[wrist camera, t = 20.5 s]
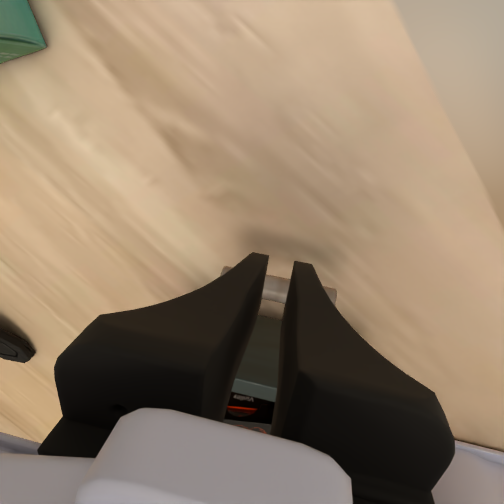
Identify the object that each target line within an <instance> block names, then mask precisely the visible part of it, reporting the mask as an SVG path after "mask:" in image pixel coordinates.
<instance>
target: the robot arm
mask: <svg viewBox="0 0 504 504" xmlns="http://www.w3.org/2000/svg"><path fill="white" fill-rule="evenodd" d="M268 259H269V255H264V254H259V253H254V252H252V253H251V254H249V255H248V256H247V257H246V258H245V259H243V260H242V261H241V262H240V263H238V264H237V265H236V266H235V267H233V268H232V269H230V270H229V271H228V272H226V273H225V274H224V275H222V276H220V277H219V278H217V279H216V280H214V281H212V282H211V283H209V284H207V285H206V286H204V287H202V288H200V289H197V290H195V291H193V292H191V293H188V294H186V295H183V296H180V297H178V298H175V299H172V300H169V301H166V302H163V303H159V304H156V305H152V306H148V307H144V308H139V309H134V310H129V311H122V312H116V313H110V314H102V315H99V316H98V317H97V318H96V319H95V320H94V321H93V322H92V323H91V324H89V325H88V326H87V327H86V328H85V329H84V330H83V332H82V333H81V334H80V335H79V336H78V337H77V338H76V339H75V340H74V341H73V342H72V343H71V344H70V345H69V346H68V347H67V348H66V349H65V350H64V351H63V353H62V354H61V355H60V356H59V357H58V358H57V361H56V364H55V366H54V375H55V382H56V387H57V391H58V396H59V401H60V405H61V410H62V414H63V417H62V418H61V420H60V421H59V422H58V423H57V425H56V426H55V427H54V428H53V430H52V431H51V432H50V434H49V435H48V436H47V437H46V439H45V440H44V441H43V443H42V444H41V443H38V442H34V441H30V440H27V439H23V438H20V437H16V436H13V435H9V434H6V433H2V432H0V504H504V452H501V451H497V450H493V449H489V448H485V447H481V446H477V445H473V444H468V443H464V442H460V441H456V440H454V438H453V435H452V432H451V430H450V427H449V424H448V421H447V419H446V416H445V414H444V411H443V409H442V407H441V405H440V403H439V401H438V399H437V397H436V395H435V393H434V392H433V391H431V390H430V389H428V388H427V387H425V386H424V385H422V384H421V383H419V382H418V381H416V380H415V379H413V378H412V377H410V376H409V375H407V374H406V373H404V372H403V371H401V370H400V369H399V368H397V367H396V366H395V365H393V364H392V363H391V362H389V361H388V360H387V359H386V358H384V357H383V356H382V355H381V354H379V353H378V352H377V351H376V350H375V349H374V348H372V347H371V346H370V345H369V344H368V343H367V342H366V341H365V340H364V339H363V338H362V337H361V336H360V335H359V334H358V333H357V332H356V331H355V330H354V329H353V328H352V327H351V326H350V325H349V323H348V322H347V321H346V320H345V319H344V318H343V316H342V315H341V314H340V313H339V311H338V310H337V308H336V307H335V306H334V304H333V303H332V301H331V300H330V298H329V296H328V295H327V293H326V291H325V289H324V288H323V286H322V284H321V282H320V280H319V278H318V276H317V274H316V272H315V269H314V267H313V266H312V264H308V263H303V262H298V261H294V266H293V270H292V275H291V279H290V284H289V289H288V293H287V298H286V302H285V307H284V313H283V318H282V324H281V330H280V347H279V365H278V383H277V393H276V400H275V406H274V412H273V419H272V425H271V431H270V435H268V434H264V433H260V432H256V431H252V430H248V429H245V428H241V427H237V426H233V425H229V424H225V423H223V420H224V417H225V413H226V409H227V405H228V402H229V398H230V394H231V391H232V387H233V383H234V380H235V377H236V374H237V371H238V369H239V366H240V363H241V361H242V358H243V356H244V353H245V350H246V348H247V345H248V343H249V340H250V337H251V335H252V332H253V329H254V327H255V324H256V320H257V316H258V312H259V308H260V304H261V299H262V294H263V288H264V282H265V276H266V271H267V265H268Z"/></svg>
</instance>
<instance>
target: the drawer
mask: <svg viewBox="0 0 504 504" xmlns="http://www.w3.org/2000/svg"><path fill="white" fill-rule="evenodd" d="M232 268H233V267H228V266H225V267H224V268H223V270H222V273H221V276H222V275H224V274H225V273H226V272H228V271H229V270H230V269H232ZM289 284H290V279H285V278H281V277H276V276H271V275H266V276H265V282H264V288H263V294H262V299H266V300H271V301H275V302H280V303H285V302H286V298H287V293H288V289H289ZM323 288H324V289H325V291H326V293H327V295H328V296H329V298H330V300H331V301H332V303H333V304H334V306H335V303H336V296H337V292H336V289H334V288H329V287H324V286H323ZM281 324H282V320H277V319H273V318H268V317H264V316H259V315H258V316H257V320H256V324H255V327H254V329H253V332H252V335H251V337H250V340H249V343H248V345H247V348H246V350H245V353H244V356H243V358H242V361H241V363H240V366H239V369H238V371H237V374H236V377H235V380H234V383H233V387H232V392H236V393H240V394H244V395H248V396H252V397H256V398H260V399H264V400H268V401H272V402H275V400H276V393H277V383H278V365H279V347H280V330H281Z"/></svg>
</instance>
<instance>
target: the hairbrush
mask: <svg viewBox="0 0 504 504" xmlns="http://www.w3.org/2000/svg"><path fill="white" fill-rule="evenodd" d="M34 354H35V351H34V350H33V349H32V348H31V347H30V346H29V345H28V344H27V343H26V342H25V341H24V340H22V339H20V338H18V337H17V336H15V335H13V334H11V333H9V332H7V331H6V330H4V329H2V328H0V357H1V358H3V359H6V360H11V361H16V362H22V363H25V362H27V361H29V360H30V359H31V357H33V356H34Z"/></svg>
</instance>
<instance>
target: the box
mask: <svg viewBox="0 0 504 504" xmlns="http://www.w3.org/2000/svg"><path fill="white" fill-rule="evenodd" d="M44 48H47V46H46V44H45V41H44V39H43V36H42V34H41V32H40V29H39V27H38V25H37V22H36V20H35V17H34V15H33V13H32V10H31V8H30V6H29V3H28V1H27V0H0V63H3V62H6V61H9V60H11V59H15V58H18V57H21V56H24V55H27V54H30V53H33V52H36V51H39V50H42V49H44Z"/></svg>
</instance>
